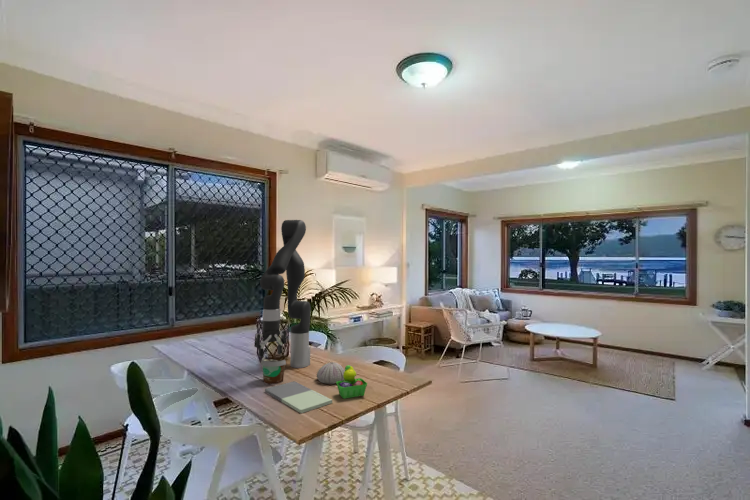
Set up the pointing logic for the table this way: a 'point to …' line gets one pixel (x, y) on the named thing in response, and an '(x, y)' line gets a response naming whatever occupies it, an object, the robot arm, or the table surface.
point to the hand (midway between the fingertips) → (270, 355)
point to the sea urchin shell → (330, 373)
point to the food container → (273, 370)
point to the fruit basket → (351, 384)
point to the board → (298, 396)
